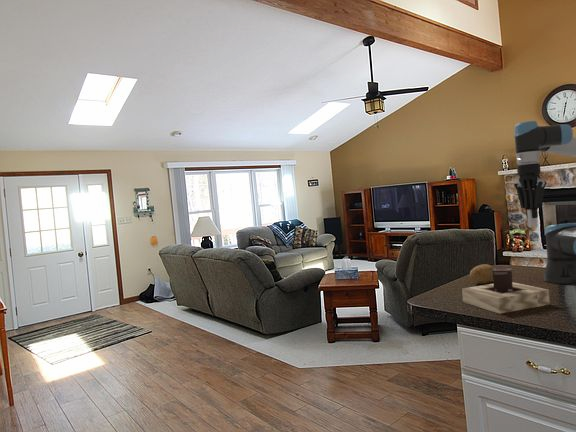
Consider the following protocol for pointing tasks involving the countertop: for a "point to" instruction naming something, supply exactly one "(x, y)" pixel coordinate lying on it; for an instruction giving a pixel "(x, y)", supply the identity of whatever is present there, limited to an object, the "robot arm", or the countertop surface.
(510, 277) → the box
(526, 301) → the square frame
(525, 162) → the robot arm
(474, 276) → the potato
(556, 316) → the countertop surface
